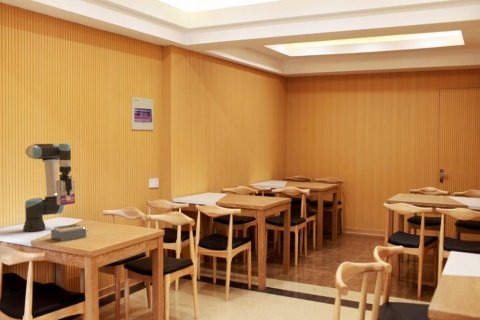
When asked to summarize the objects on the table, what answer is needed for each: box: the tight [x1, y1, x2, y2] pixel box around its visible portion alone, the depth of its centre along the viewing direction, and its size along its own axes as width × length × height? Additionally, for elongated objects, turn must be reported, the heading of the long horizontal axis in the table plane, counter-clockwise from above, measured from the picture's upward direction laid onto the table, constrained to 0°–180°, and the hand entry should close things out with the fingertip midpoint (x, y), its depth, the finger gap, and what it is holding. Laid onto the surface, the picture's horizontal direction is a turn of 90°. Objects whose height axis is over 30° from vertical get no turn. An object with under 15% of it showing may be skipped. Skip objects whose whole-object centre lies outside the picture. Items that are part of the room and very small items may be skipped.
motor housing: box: [50, 223, 89, 243], centre depth 315 cm, size 14×23×8 cm, turn 137°
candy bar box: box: [56, 179, 76, 206], centre depth 311 cm, size 11×5×16 cm, turn 147°
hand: (65, 200), depth 312 cm, fingers closed on candy bar box, 6 cm apart
